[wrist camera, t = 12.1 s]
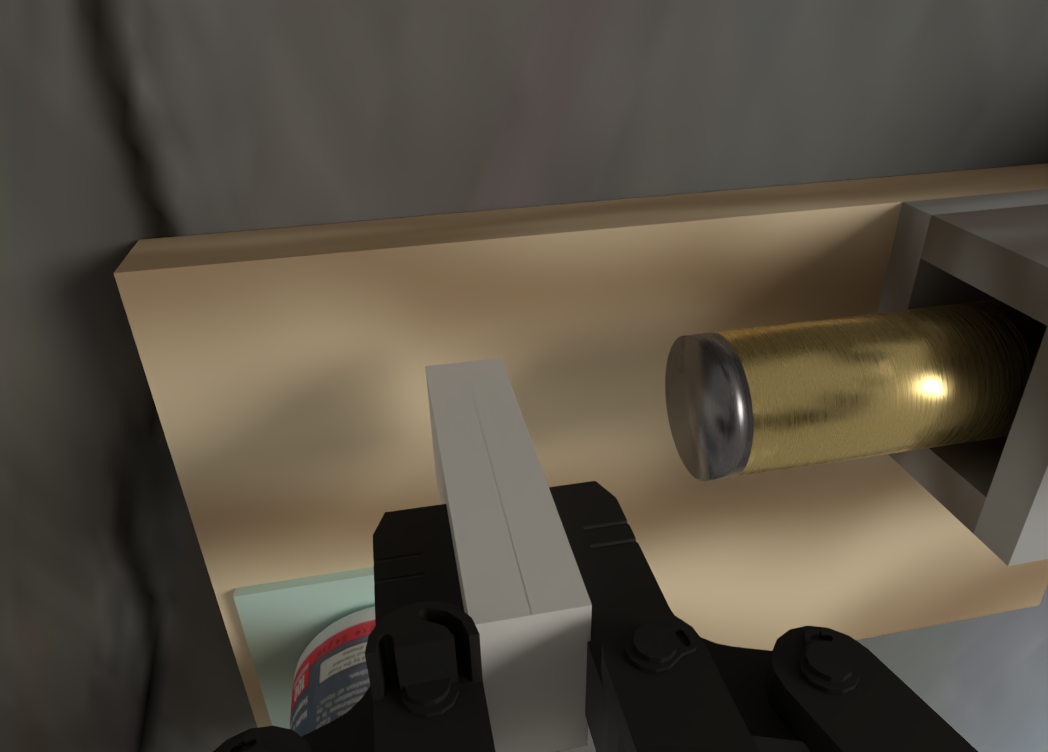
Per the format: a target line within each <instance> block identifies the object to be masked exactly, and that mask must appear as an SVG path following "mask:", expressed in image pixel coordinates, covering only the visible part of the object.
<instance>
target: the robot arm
mask: <svg viewBox="0 0 1048 752" xmlns="http://www.w3.org/2000/svg"><path fill="white" fill-rule="evenodd" d="M425 369H426V379H427V390H428V400H429V410H430V421H431V431H432V441H433V452H434V462H435V472H436V481H437V487H438V494H439V500H440V505H433V506H426V507H419V508H412V509H405V510H398V511H391V512H385V513H384V515H383V517H382V519H381V521H380V523H379V524H378V526H377V528H376V530H375V532H374V534H373V561H374V595H375V628H374V629H373V630H372V632H371V633H370V634H369V636H368V641H367V645H366V650H365V658H366V664H367V669H368V675H369V680H370V687H369V689H368V690H367V691H366V693H365V694H364V696H363V697H362V698H361V700H360V701H359V702H358V703H357V704H356V705H354V706H353V707H352V708H351V709H350V710H349V711H348V712H347V713H345V714H343V715H342V716H340V717H339V718H337V719H335V720H334V721H332V722H330V723H328V724H326V725H324V726H322V727H320V728H318V729H316V730H314V731H312V732H310V733H308V734H306V735H304V736H302V737H301V736H300V735H299V734H297V733H296V732H295V731H294V730H291V729H287V728H282V727H278V726H266V727H259V728H252V729H249V730H247V731H244V732H242V733H240V734H238V735H236V736H234V737H232V738H230V739H228V740H226V741H225V742H224V743H223V744H222V745H220V746H219V747H218V748H217V749H216V750H215V751H213V752H555V751H560V750H565V749H570V748H575V747H580V746H585V745H587V732H588V726H589V729H590V732H591V736H592V739H593V742H594V745H595V749H596V752H978V751H977V750H976V749H975V748H974V747H972V746H971V745H970V744H969V743H968V742H967V741H966V740H965V739H964V738H963V737H962V736H961V735H960V734H958V733H957V732H956V731H955V730H954V729H953V728H952V727H951V726H950V725H949V724H948V723H947V722H946V721H945V720H943V719H942V718H941V717H940V716H939V715H938V714H937V713H936V712H935V711H934V710H933V709H932V708H931V707H929V706H928V705H927V704H926V703H925V702H924V701H923V700H922V699H921V698H920V697H919V696H918V695H917V694H916V693H914V692H913V691H912V690H911V689H910V688H909V687H908V686H907V685H906V684H905V683H904V682H903V681H902V680H900V679H899V678H898V677H897V676H896V675H895V674H894V673H893V672H892V671H891V670H890V669H889V668H888V667H887V666H885V665H884V664H883V663H882V662H881V661H880V660H879V659H878V658H877V657H876V656H875V655H874V654H873V653H871V652H870V651H869V650H868V649H867V648H866V647H864V646H863V645H861V644H860V643H859V642H857V641H856V640H854V639H853V638H852V637H850V636H848V635H846V634H843V633H841V632H838V631H835V630H833V629H830V628H826V627H816V626H803V627H799V628H794V629H790V630H788V631H787V632H786V633H784V634H783V635H782V636H780V637H779V638H778V639H777V640H776V643H775V645H774V648H773V650H772V651H770V650H760V649H751V648H741V647H732V646H727V645H722V644H717V643H714V642H712V641H709V640H707V639H704V638H701V637H700V636H699V635H698V634H697V632H696V631H695V630H694V628H693V627H692V626H690V625H689V624H687V623H686V622H684V621H683V620H681V619H680V618H678V617H677V616H675V615H674V614H673V612H672V611H671V609H670V608H669V605H668V603H667V601H666V599H665V597H664V595H663V593H662V591H661V589H660V587H659V585H658V583H657V581H656V579H655V577H654V574H653V572H652V570H651V568H650V566H649V564H648V562H647V560H646V558H645V556H644V554H643V552H642V550H641V548H640V546H639V544H638V542H636V537H635V535H634V533H633V531H632V529H631V527H630V525H629V524H628V523H627V519H626V517H625V515H624V513H623V510H622V508H621V506H620V504H619V502H618V500H617V498H616V497H615V496H613V495H612V494H611V493H610V492H608V491H607V490H606V489H605V488H604V487H602V486H601V485H600V484H599V483H598V482H596V481H590V482H583V483H576V484H569V485H562V486H555V487H548V484H547V481H546V478H545V476H544V473H543V470H542V468H541V465H540V462H539V459H538V457H537V454H536V451H535V448H534V446H533V443H532V440H531V438H530V435H529V432H528V429H527V427H526V424H525V421H524V418H523V416H522V413H521V410H520V408H519V405H518V402H517V399H516V397H515V394H514V391H513V388H512V386H511V383H510V380H509V377H508V375H507V372H506V369H505V367H504V364H503V361H502V358H495V359H486V360H477V361H468V362H459V363H450V364H441V365H432V366H425Z"/></svg>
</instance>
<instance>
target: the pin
mask: <svg viewBox="0 0 1048 752" xmlns="http://www.w3.org/2000/svg"><path fill="white" fill-rule="evenodd" d="M1046 328H1047V325H1045V324H1043V323H1041V322H1039V321H1037V320H1035V319H1033V318H1032V317H1030V316H1028V315H1026V314H1024V313H1022V312H1020V311H1018V310H1017V309H1015V308H1013V307H1011V306H1009V305H1007V304H1005V303H1003V302H1002V301H1000V300H998V299H995V300H987V301H978V302H969V303H961V304H952V305H943V306H935V307H926V308H917V309H909V310H900V311H891V312H883V313H874V314H866V315H857V316H848V317H840V318H831V319H822V320H814V321H805V322H796V323H788V324H779V325H770V326H762V327H753V328H744V329H736V330H727V331H718V332H710V333H701V334H692V335H684V336H680V337H679V338H677V339H676V340H675V342H674V343H673V345H672V347H671V349H670V352H669V355H668V359H667V365H666V374H665V396H666V407H667V414H668V420H669V425H670V429H671V433H672V437H673V440H674V443H675V446H676V449H677V451H678V454H679V456H680V458H681V460H682V462H683V464H684V465H685V467H686V469H687V470H688V471H689V473H690V474H691V475H692V476H693V477H694V478H696V479H697V480H700V481H710V480H717V479H723V478H730V477H737V476H744V475H750V474H757V473H764V472H771V471H777V470H784V469H791V468H798V467H804V466H811V465H818V464H825V463H831V462H838V461H845V460H851V459H858V458H865V457H872V456H878V455H885V454H892V453H899V452H905V451H912V450H919V449H926V448H932V447H939V446H946V445H953V444H959V443H966V442H973V441H979V440H986V439H993V438H1000V437H1006V436H1008V435H1009V433H1010V430H1011V427H1012V424H1013V421H1014V418H1015V416H1016V413H1017V410H1018V407H1019V404H1020V402H1021V399H1022V396H1023V393H1024V390H1025V388H1026V385H1027V382H1028V379H1029V376H1030V373H1031V371H1032V368H1033V365H1034V362H1035V359H1036V357H1037V354H1038V351H1039V348H1040V345H1041V342H1042V340H1043V337H1044V334H1045V331H1046Z"/></svg>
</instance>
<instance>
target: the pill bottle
mask: <svg viewBox="0 0 1048 752" xmlns="http://www.w3.org/2000/svg"><path fill="white" fill-rule="evenodd" d="M374 628H375V606H374V607H370V608H366V609H363V610H360V611H357V612H354V613H352V614H350V615H347V616H345V617H343V618H341V619H339V620H338V621H336V622H334V623H332V624H331V625H329V626H328V627H327V628H325V629H324V630H323V631H321V632H320V633H319V634H318V635H317V636H316V637H315V638H314V639H313V640H312V641H311V642H310V643H309V645H308V646H307V647H306V649H305V650H304V652H303V653H302V655H301V657H300V659H299V661H298V664H297V667H296V670H295V674H294V682H293V690H292V702H291V716H290V729H291V730H294V731H295V732H296V733H297V734H299V735H300V736H301V737H302V736H304V735H306V734H308V733H310V732H312V731H314V730H316V729H318V728H320V727H322V726H324V725H326V724H328V723H330V722H332V721H334V720H335V719H337V718H339V717H340V716H342V715H343V714H345V713H347V712H348V711H349V710H350V709H351V708H352V707H353V706H354V705H356V704H357V703H358V702H359V701H360V700H361V698H362V697H363V696H364V694H365V693H366V691H367V690H368V689H369V687H370V680H369V675H368V669H367V664H366V658H365V650H366V645H367V641H368V636H369V634H370V633H371V632H372V630H373V629H374Z"/></svg>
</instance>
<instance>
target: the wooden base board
mask: <svg viewBox="0 0 1048 752" xmlns="http://www.w3.org/2000/svg"><path fill="white" fill-rule="evenodd" d="M114 276H115V280H116V283H117V286H118V289H119V292H120V295H121V299H122V302H123V305H124V308H125V311H126V314H127V317H128V321H129V324H130V327H131V330H132V333H133V336H134V340H135V343H136V346H137V349H138V352H139V355H140V359H141V362H142V365H143V368H144V371H145V374H146V377H147V381H148V384H149V387H150V390H151V393H152V396H153V400H154V403H155V406H156V409H157V412H158V415H159V418H160V422H161V425H162V428H163V431H164V434H165V437H166V441H167V444H168V447H169V450H170V453H171V456H172V459H173V463H174V466H175V469H176V472H177V475H178V478H179V482H180V485H181V488H182V491H183V494H184V497H185V500H186V504H187V507H188V510H189V513H190V516H191V519H192V523H193V526H194V529H195V532H196V535H197V538H198V542H199V545H200V548H201V551H202V554H203V557H204V560H205V564H206V567H207V570H208V573H209V576H210V579H211V583H212V586H213V589H214V592H215V595H216V598H217V601H218V605H219V608H220V611H221V614H222V617H223V620H224V624H225V627H226V630H227V633H228V636H229V639H230V642H231V646H232V649H233V652H234V655H235V658H236V661H237V665H238V668H239V671H240V674H241V677H242V680H243V683H244V687H245V690H246V693H247V696H248V699H249V702H250V706H251V709H252V712H253V715H254V718H255V721H256V724H257V728H259V727H266V726H278V727H282V728H287V729H290V716H291V702H292V690H293V682H294V674H295V670H296V667H297V664H298V661H299V659H300V657H301V655H302V653H303V652H304V650H305V649H306V647H307V646H308V645H309V643H310V642H311V641H312V640H313V639H314V638H315V637H316V636H317V635H318V634H319V633H320V632H321V631H323V630H324V629H325V628H327V627H328V626H329V625H331V624H332V623H334V622H336V621H338V620H339V619H341V618H343V617H345V616H347V615H350V614H352V613H354V612H357V611H360V610H363V609H366V608H370V607H374V606H375V595H374V561H373V534H374V532H375V530H376V528H377V526H378V524H379V523H380V521H381V519H382V517H383V515H384V513H385V512H391V511H398V510H405V509H412V508H419V507H426V506H433V505H440V500H439V494H438V487H437V481H436V472H435V462H434V452H433V441H432V431H431V421H430V410H429V400H428V390H427V379H426V369H425V366H432V365H441V364H450V363H459V362H468V361H477V360H486V359H495V358H502V361H503V364H504V367H505V369H506V372H507V375H508V377H509V380H510V383H511V386H512V388H513V391H514V394H515V397H516V399H517V402H518V405H519V408H520V410H521V413H522V416H523V418H524V421H525V424H526V427H527V429H528V432H529V435H530V438H531V440H532V443H533V446H534V448H535V451H536V454H537V457H538V459H539V462H540V465H541V468H542V470H543V473H544V476H545V478H546V481H547V484H548V487H555V486H562V485H569V484H576V483H583V482H590V481H596V482H598V483H599V484H600V485H601V486H602V487H604V488H605V489H606V490H607V491H608V492H610V493H611V494H612V495H613V496H615V497H616V498H617V500H618V502H619V504H620V506H621V508H622V510H623V513H624V515H625V517H626V519H627V523H628V524H629V525H630V527H631V529H632V531H633V533H634V535H635V537H636V542H638V544H639V546H640V548H641V550H642V552H643V554H644V556H645V558H646V560H647V562H648V564H649V566H650V568H651V570H652V572H653V574H654V577H655V579H656V581H657V583H658V585H659V587H660V589H661V591H662V593H663V595H664V597H665V599H666V601H667V603H668V605H669V608H670V609H671V611H672V612H673V614H674V615H675V616H677V617H678V618H680V619H681V620H683V621H684V622H686V623H687V624H689V625H690V626H692V627H693V628H694V630H695V631H696V632H697V634H698V635H699V636H700V637H701V638H704V639H707V640H709V641H712V642H714V643H717V644H722V645H727V646H732V647H741V648H751V649H760V650H770V651H772V650H773V648H774V645H775V643H776V640H777V639H778V638H779V637H780V636H782V635H783V634H784V633H786V632H787V631H788V630H790V629H794V628H799V627H803V626H816V627H826V628H830V629H833V630H835V631H838V632H841V633H843V634H846V635H848V636H850V637H852V638H853V639H854V640H859V639H864V638H869V637H875V636H880V635H885V634H890V633H896V632H901V631H906V630H911V629H917V628H922V627H927V626H932V625H938V624H943V623H948V622H953V621H959V620H964V619H969V618H974V617H980V616H985V615H990V614H995V613H1001V612H1006V611H1011V610H1017V609H1022V608H1027V607H1032V606H1038V605H1039V603H1040V601H1041V599H1042V597H1043V594H1044V592H1045V590H1046V587H1047V585H1048V163H1046V164H1035V165H1023V166H1011V167H999V168H987V169H975V170H963V171H951V172H939V173H927V174H916V175H904V176H892V177H880V178H868V179H856V180H844V181H832V182H820V183H809V184H797V185H785V186H773V187H761V188H749V189H737V190H725V191H713V192H702V193H690V194H678V195H666V196H654V197H642V198H630V199H618V200H606V201H595V202H583V203H571V204H559V205H547V206H535V207H523V208H511V209H499V210H487V211H476V212H464V213H452V214H440V215H428V216H416V217H404V218H392V219H380V220H369V221H357V222H345V223H333V224H321V225H309V226H297V227H285V228H273V229H262V230H250V231H238V232H226V233H214V234H202V235H190V236H178V237H166V238H154V239H143V240H138V242H137V243H136V244H135V246H134V247H133V248H132V250H131V251H130V252H129V253H128V255H127V256H126V257H125V259H124V260H123V261H122V263H121V264H120V265H119V267H118V268H117V269H116V271H115V272H114ZM995 299H998V300H1000V301H1002V302H1003V303H1005V304H1007V305H1009V306H1011V307H1013V308H1015V309H1017V310H1018V311H1020V312H1022V313H1024V314H1026V315H1028V316H1030V317H1032V318H1033V319H1035V320H1037V321H1039V322H1041V323H1043V324H1045V325H1047V328H1046V331H1045V334H1044V337H1043V340H1042V342H1041V345H1040V348H1039V351H1038V354H1037V357H1036V359H1035V362H1034V365H1033V368H1032V371H1031V373H1030V376H1029V379H1028V382H1027V385H1026V388H1025V390H1024V393H1023V396H1022V399H1021V402H1020V404H1019V407H1018V410H1017V413H1016V416H1015V418H1014V421H1013V424H1012V427H1011V430H1010V433H1009V435H1008V436H1006V437H1000V438H993V439H986V440H979V441H973V442H966V443H959V444H953V445H946V446H939V447H932V448H926V449H919V450H912V451H905V452H899V453H892V454H885V455H878V456H872V457H865V458H858V459H851V460H845V461H838V462H831V463H825V464H818V465H811V466H804V467H798V468H791V469H784V470H777V471H771V472H764V473H757V474H750V475H744V476H737V477H730V478H723V479H717V480H710V481H700V480H697V479H696V478H694V477H693V476H692V475H691V474H690V473H689V471H688V470H687V469H686V467H685V465H684V464H683V462H682V460H681V458H680V456H679V454H678V451H677V449H676V446H675V443H674V440H673V437H672V433H671V429H670V425H669V420H668V414H667V407H666V396H665V374H666V365H667V359H668V355H669V352H670V349H671V347H672V345H673V343H674V342H675V340H676V339H677V338H679V337H680V336H684V335H692V334H701V333H710V332H718V331H727V330H736V329H744V328H753V327H762V326H770V325H779V324H788V323H796V322H805V321H814V320H822V319H831V318H840V317H848V316H857V315H866V314H874V313H883V312H891V311H900V310H909V309H917V308H926V307H935V306H943V305H952V304H961V303H969V302H978V301H987V300H995Z"/></svg>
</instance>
